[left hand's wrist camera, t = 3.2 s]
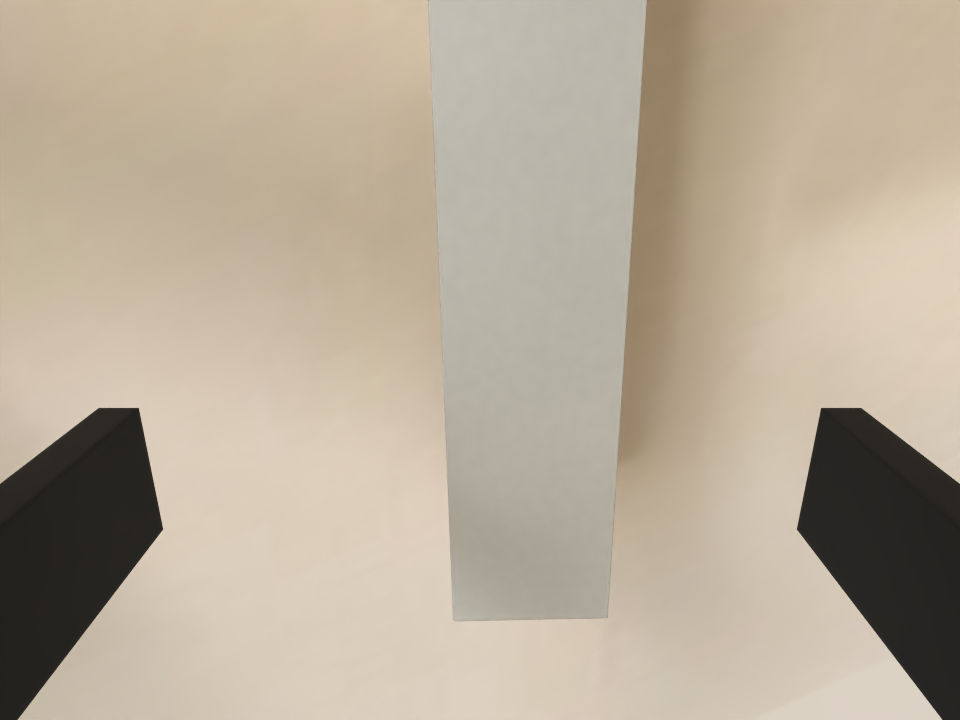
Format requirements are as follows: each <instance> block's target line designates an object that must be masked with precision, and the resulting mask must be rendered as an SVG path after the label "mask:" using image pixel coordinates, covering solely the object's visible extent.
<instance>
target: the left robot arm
mask: <svg viewBox="0 0 960 720" xmlns="http://www.w3.org/2000/svg"><path fill="white" fill-rule="evenodd" d="M162 530H163V527H162V522H161V517H160V512H159V507H158V502H157V497H156V492H155V487H154V482H153V477H152V472H151V467H150V462H149V457H148V452H147V447H146V442H145V437H144V432H143V427H142V422H141V417H140V412H139V408H98V409H97V410H96V411H94V412H93V413H92V414H91V415H89V416H88V417H87V418H85V419H84V420H83V421H81V422H80V423H79V424H78V425H76V426H75V427H74V428H72V429H71V430H70V431H68V432H67V433H66V434H65V435H63V436H62V437H61V438H59V439H58V440H57V441H55V442H54V443H53V444H52V445H50V446H49V447H48V448H46V449H45V450H44V451H42V452H41V453H40V454H39V455H37V456H36V457H35V458H33V459H32V460H31V461H29V462H28V463H27V464H26V465H24V466H23V467H22V468H20V469H19V470H18V471H16V472H15V473H14V474H13V475H11V476H10V477H9V478H7V479H6V480H5V481H3V482H2V483H1V484H0V720H18V718H19V717H20V716H21V714H22V713H23V712H24V711H25V709H26V708H27V707H28V705H29V704H30V703H31V701H32V700H33V699H34V697H35V696H36V695H37V694H38V692H39V691H40V690H41V688H42V687H43V686H44V684H45V683H46V682H47V680H48V679H49V678H50V677H51V675H52V674H53V673H54V671H55V670H56V669H57V667H58V666H59V665H60V663H61V662H62V661H63V660H64V658H65V657H66V656H67V654H68V653H69V652H70V650H71V649H72V648H73V646H74V645H75V644H76V643H77V641H78V640H79V639H80V637H81V636H82V635H83V633H84V632H85V631H86V629H87V628H88V627H89V626H90V624H91V623H92V622H93V620H94V619H95V618H96V616H97V615H98V614H99V612H100V611H101V610H102V609H103V607H104V606H105V605H106V603H107V602H108V601H109V599H110V598H111V597H112V595H113V594H114V593H115V592H116V590H117V589H118V588H119V586H120V585H121V584H122V582H123V581H124V580H125V578H126V577H127V576H128V575H129V573H130V572H131V571H132V569H133V568H134V567H135V565H136V564H137V563H138V561H139V560H140V559H141V558H142V556H143V555H144V554H145V552H146V551H147V550H148V548H149V547H150V546H151V544H152V543H153V542H154V541H155V539H156V538H157V537H158V535H159V534H160V533H161V531H162ZM797 530H798V531H799V533H800V534H801V535H802V537H803V538H804V539H805V541H806V542H807V543H808V544H809V546H810V547H811V548H812V550H813V551H814V552H815V554H816V555H817V556H818V558H819V559H820V560H821V561H822V563H823V564H824V565H825V567H826V568H827V569H828V571H829V572H830V573H831V575H832V576H833V577H834V578H835V580H836V581H837V582H838V584H839V585H840V586H841V588H842V589H843V590H844V592H845V593H846V594H847V595H848V597H849V598H850V599H851V601H852V602H853V603H854V605H855V606H856V607H857V609H858V610H859V611H860V612H861V614H862V615H863V616H864V618H865V619H866V620H867V622H868V623H869V624H870V626H871V627H872V628H873V629H874V631H875V632H876V633H877V635H878V636H879V637H880V639H881V640H882V641H883V643H884V644H885V645H886V646H887V648H888V649H889V650H890V652H891V653H892V654H893V656H894V657H895V658H896V660H897V661H898V662H899V663H900V665H901V666H902V667H903V669H904V670H905V671H906V673H907V674H908V675H909V677H910V678H911V679H912V680H913V682H914V683H915V684H916V686H917V687H918V688H919V690H920V691H921V692H922V693H923V695H924V696H925V697H926V699H927V700H928V701H929V703H930V704H931V705H932V707H933V708H934V709H935V710H936V712H937V713H938V714H939V716H940V717H941V718H942V720H960V484H959V483H958V482H957V481H955V480H954V479H953V478H951V477H950V476H949V475H947V474H946V473H945V472H944V471H942V470H941V469H940V468H938V467H937V466H936V465H934V464H933V463H932V462H931V461H929V460H928V459H927V458H925V457H924V456H923V455H921V454H920V453H919V452H918V451H916V450H915V449H914V448H912V447H911V446H910V445H908V444H907V443H906V442H905V441H903V440H902V439H901V438H899V437H898V436H897V435H895V434H894V433H893V432H892V431H890V430H889V429H888V428H886V427H885V426H884V425H882V424H881V423H880V422H879V421H877V420H876V419H875V418H873V417H872V416H871V415H869V414H868V413H867V412H866V411H864V410H863V409H862V408H821V412H820V417H819V422H818V427H817V432H816V437H815V442H814V447H813V452H812V457H811V462H810V467H809V472H808V477H807V482H806V487H805V492H804V497H803V502H802V507H801V512H800V517H799V522H798V527H797Z"/></svg>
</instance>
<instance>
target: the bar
mask: <svg viewBox="0 0 960 720" xmlns="http://www.w3.org/2000/svg"><path fill="white" fill-rule="evenodd" d="M428 9H429V34H430V59H431V83H432V108H433V133H434V158H435V182H436V207H437V232H438V257H439V281H440V306H441V331H442V356H443V380H444V405H445V430H446V455H447V479H448V504H449V529H450V554H451V578H452V603H453V620H454V621H488V620H538V619H589V618H607V617H608V604H609V588H610V572H611V557H612V541H613V525H614V510H615V494H616V478H617V463H618V447H619V432H620V416H621V400H622V385H623V369H624V353H625V338H626V322H627V306H628V291H629V275H630V259H631V244H632V228H633V212H634V197H635V181H636V165H637V150H638V134H639V118H640V103H641V87H642V71H643V56H644V40H645V25H646V9H647V0H428Z"/></svg>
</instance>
